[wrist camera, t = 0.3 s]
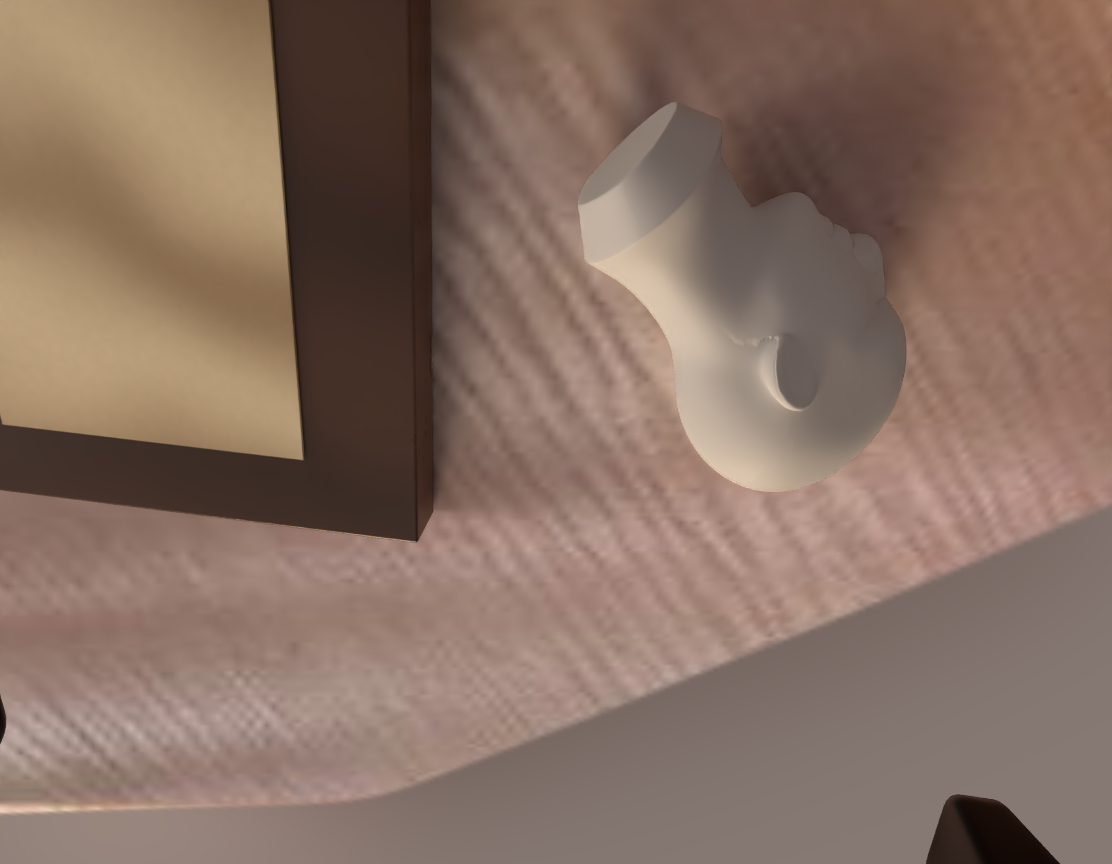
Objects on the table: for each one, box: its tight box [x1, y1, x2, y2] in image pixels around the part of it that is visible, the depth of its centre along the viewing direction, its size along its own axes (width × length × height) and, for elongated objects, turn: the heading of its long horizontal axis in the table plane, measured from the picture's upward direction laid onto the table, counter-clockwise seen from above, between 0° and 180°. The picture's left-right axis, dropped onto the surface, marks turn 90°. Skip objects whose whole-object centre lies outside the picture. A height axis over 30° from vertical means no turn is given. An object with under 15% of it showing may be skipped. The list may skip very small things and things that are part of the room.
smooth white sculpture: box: [578, 102, 906, 492], centre depth 18 cm, size 4×8×5 cm
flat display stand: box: [0, 0, 433, 543], centre depth 19 cm, size 16×13×4 cm
